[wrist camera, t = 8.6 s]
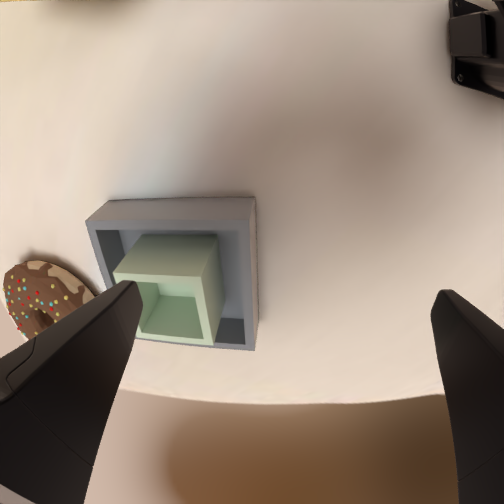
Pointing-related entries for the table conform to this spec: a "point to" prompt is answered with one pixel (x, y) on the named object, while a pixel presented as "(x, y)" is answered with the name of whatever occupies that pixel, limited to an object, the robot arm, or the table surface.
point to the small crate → (176, 286)
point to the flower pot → (12, 0)
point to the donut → (42, 295)
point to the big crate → (190, 223)
